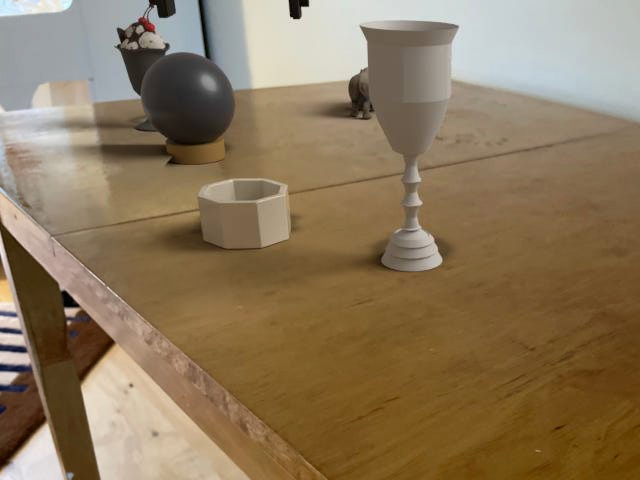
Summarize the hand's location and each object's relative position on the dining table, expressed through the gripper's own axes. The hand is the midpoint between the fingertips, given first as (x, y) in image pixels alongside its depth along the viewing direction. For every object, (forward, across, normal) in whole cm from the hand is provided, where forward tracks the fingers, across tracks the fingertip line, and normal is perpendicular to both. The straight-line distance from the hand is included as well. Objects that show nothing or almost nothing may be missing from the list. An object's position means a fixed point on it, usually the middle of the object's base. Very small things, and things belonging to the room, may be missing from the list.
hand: (232, 17), depth 60 cm
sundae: (+18, -18, +44) cm, 50 cm away
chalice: (+18, +13, -6) cm, 23 cm away
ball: (+18, -10, +28) cm, 34 cm away
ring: (+18, -1, +1) cm, 18 cm away
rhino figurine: (+18, +10, +56) cm, 59 cm away
